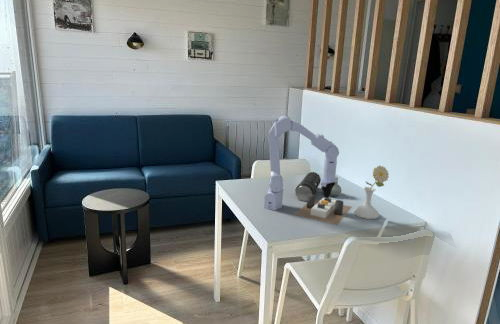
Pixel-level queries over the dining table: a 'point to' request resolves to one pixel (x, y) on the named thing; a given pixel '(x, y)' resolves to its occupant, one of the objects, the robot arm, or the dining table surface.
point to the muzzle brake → (307, 186)
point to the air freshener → (335, 188)
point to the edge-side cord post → (338, 207)
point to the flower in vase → (367, 209)
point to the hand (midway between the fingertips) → (326, 197)
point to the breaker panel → (330, 217)
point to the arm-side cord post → (310, 201)
